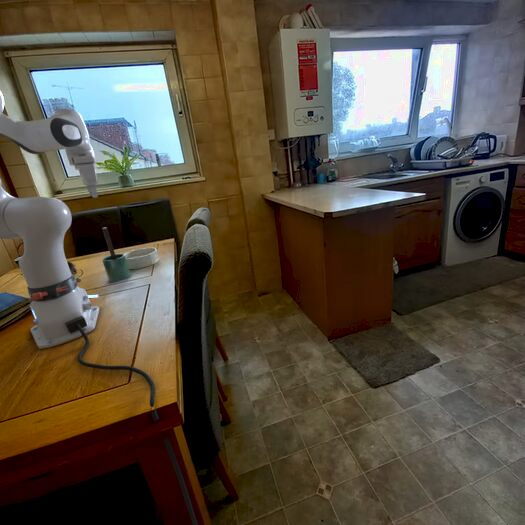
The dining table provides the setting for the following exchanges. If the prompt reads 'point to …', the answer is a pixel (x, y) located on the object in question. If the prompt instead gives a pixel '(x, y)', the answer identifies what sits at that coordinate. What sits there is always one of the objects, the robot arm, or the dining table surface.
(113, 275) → the utensil pot
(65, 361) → the dining table surface
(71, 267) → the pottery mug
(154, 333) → the dining table surface
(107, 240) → the stirring stick
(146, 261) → the bowl
